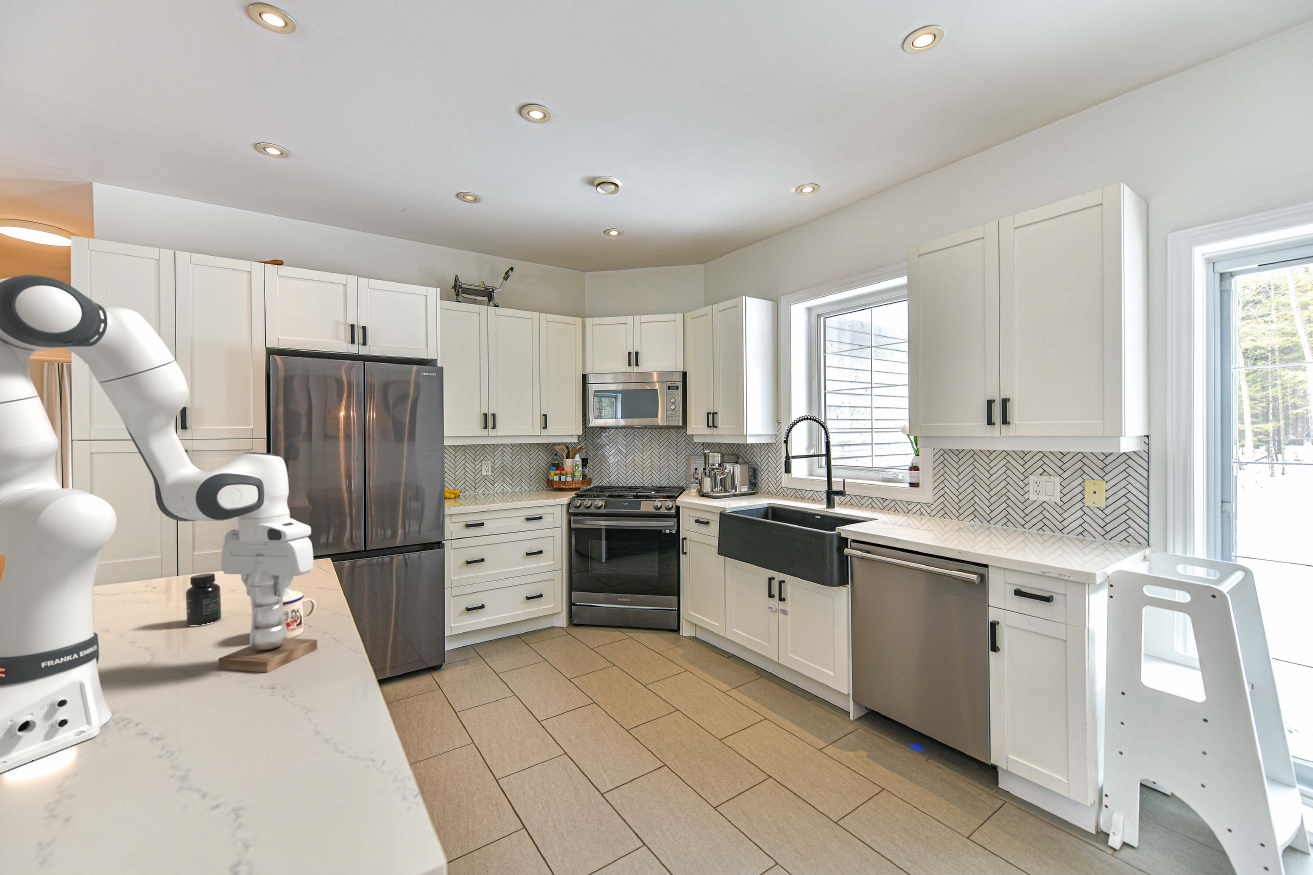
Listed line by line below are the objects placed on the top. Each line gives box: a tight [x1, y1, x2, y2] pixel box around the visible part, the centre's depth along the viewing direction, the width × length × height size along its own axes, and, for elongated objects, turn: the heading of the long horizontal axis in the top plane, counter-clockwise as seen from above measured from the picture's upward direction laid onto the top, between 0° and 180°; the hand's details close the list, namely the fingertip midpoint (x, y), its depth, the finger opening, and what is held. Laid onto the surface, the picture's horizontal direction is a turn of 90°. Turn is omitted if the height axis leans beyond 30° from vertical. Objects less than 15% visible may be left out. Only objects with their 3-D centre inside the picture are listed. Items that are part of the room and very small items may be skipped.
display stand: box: [218, 637, 318, 673], centre depth 118 cm, size 12×12×2 cm
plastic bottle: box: [247, 555, 288, 651], centre depth 117 cm, size 6×7×20 cm
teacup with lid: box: [282, 588, 317, 638], centre depth 132 cm, size 12×9×12 cm
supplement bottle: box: [185, 572, 222, 626], centre depth 143 cm, size 7×7×12 cm
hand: (267, 595), depth 117 cm, fingers closed on plastic bottle, 6 cm apart
